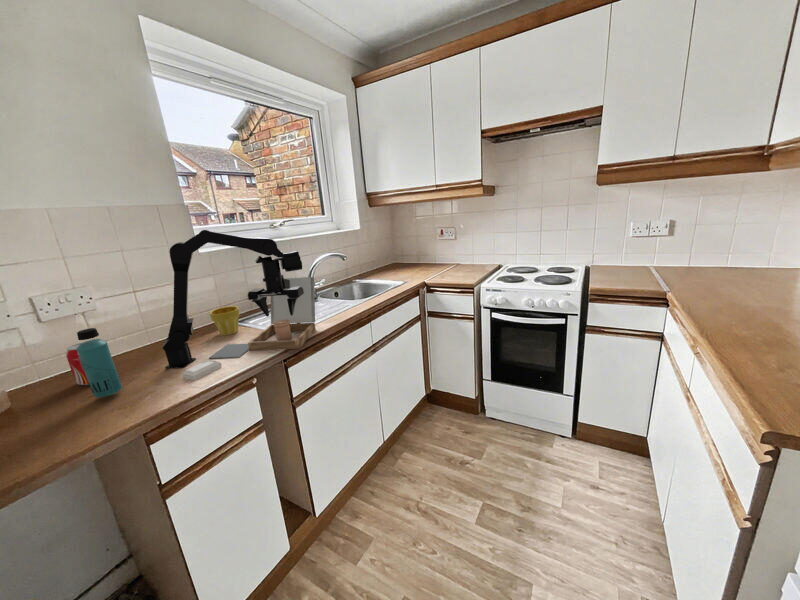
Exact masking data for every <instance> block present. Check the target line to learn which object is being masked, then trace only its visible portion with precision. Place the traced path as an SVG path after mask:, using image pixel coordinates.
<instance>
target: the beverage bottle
mask: <svg viewBox="0 0 800 600" xmlns="http://www.w3.org/2000/svg"><path fill="white" fill-rule="evenodd" d="M76 336H77V340H79V341H83V342H80V343H81V344H80V345H79V346H78V348H77V352H78V354H79V357H80V360H81V365H82V367H83V369H84V372H85V373H86V376H87V379H88V381H89V383H88V384H89V385H88V387H89V389H90V390H91V393H92V395H93V396H94V397H95V398H105V397H108V396H111V395H114V394H116V393H118V392H120V391H121V390H122V389H123V385H122V384H123V383H122V381H121V379H120V375H119V373H118V371H117V367H116V366H115V363H114V360H113V357H112V353H111V351H110V348H109V345H108V342H107V340H103V339H101V338H96V337H99V336H100V334H99V332H98V330H97V328H95V327H91V328H90V327H89V328H85V329H81V330H79V331H77V332H76ZM85 340H86V341H85Z"/></svg>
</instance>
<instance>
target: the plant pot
mask: <svg viewBox="0 0 800 600" xmlns="http://www.w3.org/2000/svg"><path fill="white" fill-rule="evenodd" d="M239 309H240V308H239V307H238V306H235V305H231V306H230V305H229V306H223V307H220V308H215V309H212V310H211V311H210V312H209V316H210V319H211V321H212V322H213V323H214V324H215V326H216V328H217V331H218V332H219V334H220V336H230V335H233V334H235V333H237V332H238V331H239V317H240V310H239Z"/></svg>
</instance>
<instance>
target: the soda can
mask: <svg viewBox="0 0 800 600" xmlns="http://www.w3.org/2000/svg"><path fill="white" fill-rule="evenodd" d="M81 343H82V342H80V343H76V344H72V345H71V346H68V347H66V350H67V352H66V354H65V356H66V359H67V362H68V365H69V367H70V371H71V372H72V376H73V377H74V379H75V381H76V384H77V385H80V386H89V384H88V383H89V381H88V379H87V376H86V373H85V372H84V369H83V367H82V365H81V360H80V357H79V354H78V352H77V348H78V346H79V345H80V344H81Z"/></svg>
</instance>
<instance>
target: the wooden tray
mask: <svg viewBox="0 0 800 600" xmlns="http://www.w3.org/2000/svg"><path fill="white" fill-rule="evenodd" d="M289 325H290V331H296V332H302V333H301V334H300V335H299V336H298V337H297V338H296V339H291V340H279V341H277V340H267V338H269V337H270V336H272V334H274V333H276V331H275V327H274V325H273V324H270V325H269V326H267V327H266V328H265V329H264V330H262V331H260V333H258V334H257V335H256V336H254V337H253V338H252V339H251V340H249V341H248V342H247V344H248V346H249V350H248V351H250V352H251V351H273V350H275V351H278V350H277V349H283V350H300V348H301V347H302V346H303V345H305V343H306V341H307V340H308V339H309V338H310V337H311V336H312V335H313V334H314V332H316V330H317V329H316V322H308V323H290V324H289ZM312 333H313V334H312ZM311 334H312V335H311ZM310 335H311V336H310ZM309 336H310V337H309Z"/></svg>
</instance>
